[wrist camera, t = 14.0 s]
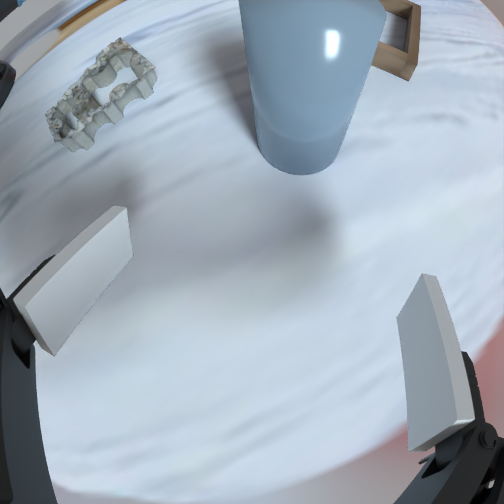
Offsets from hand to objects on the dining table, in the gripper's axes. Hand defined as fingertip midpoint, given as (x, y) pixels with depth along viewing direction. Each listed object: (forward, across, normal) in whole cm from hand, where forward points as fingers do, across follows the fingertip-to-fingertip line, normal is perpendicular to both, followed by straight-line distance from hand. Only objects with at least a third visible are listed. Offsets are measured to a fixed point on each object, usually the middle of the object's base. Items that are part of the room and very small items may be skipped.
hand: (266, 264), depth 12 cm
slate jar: (+12, 0, +3) cm, 12 cm away
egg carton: (+13, -18, +4) cm, 23 cm away
